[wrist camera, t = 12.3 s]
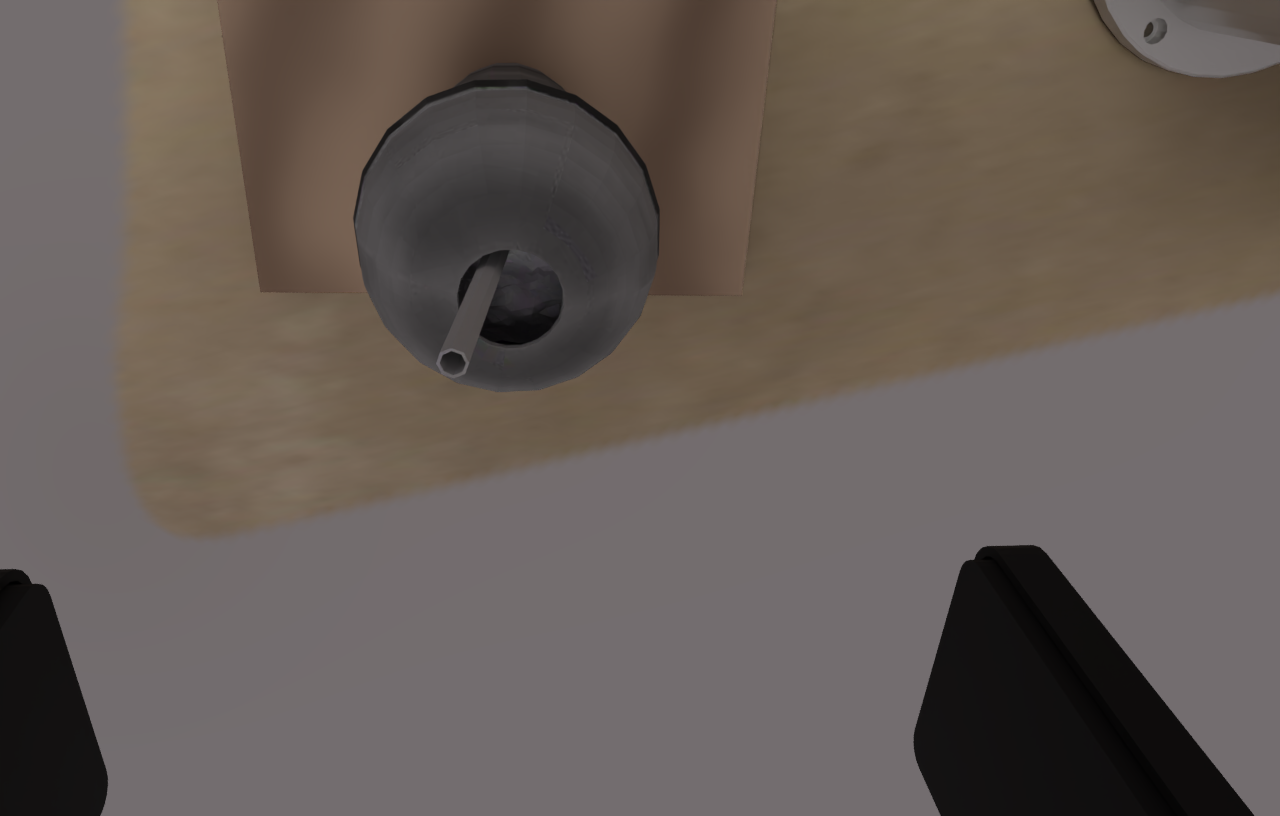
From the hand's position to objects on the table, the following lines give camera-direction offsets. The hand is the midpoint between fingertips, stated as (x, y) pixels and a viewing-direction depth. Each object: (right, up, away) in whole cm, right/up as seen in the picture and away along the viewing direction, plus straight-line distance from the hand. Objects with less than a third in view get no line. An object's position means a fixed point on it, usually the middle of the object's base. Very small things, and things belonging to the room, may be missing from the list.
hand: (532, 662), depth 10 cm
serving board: (-4, +13, +24) cm, 27 cm away
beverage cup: (-3, +12, +22) cm, 26 cm away
